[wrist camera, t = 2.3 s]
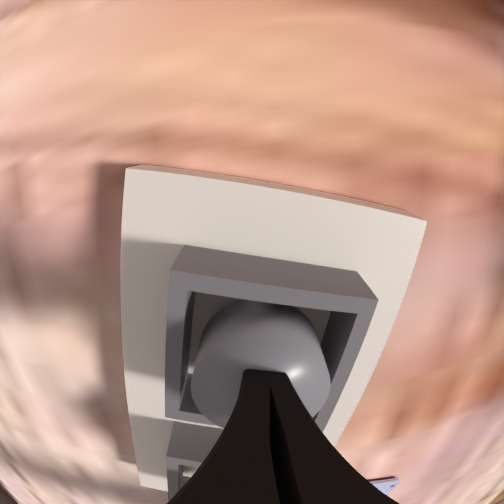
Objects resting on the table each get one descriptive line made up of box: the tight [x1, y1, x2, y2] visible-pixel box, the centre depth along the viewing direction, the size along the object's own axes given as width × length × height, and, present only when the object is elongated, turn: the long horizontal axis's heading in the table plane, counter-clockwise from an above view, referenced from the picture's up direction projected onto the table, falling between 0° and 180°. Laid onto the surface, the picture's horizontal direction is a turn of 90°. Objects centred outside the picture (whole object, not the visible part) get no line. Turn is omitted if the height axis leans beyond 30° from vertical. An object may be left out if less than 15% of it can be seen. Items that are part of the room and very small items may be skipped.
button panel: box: [120, 164, 427, 501], centre depth 15 cm, size 22×12×4 cm, turn 171°
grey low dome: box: [191, 300, 331, 428], centre depth 11 cm, size 5×5×2 cm
